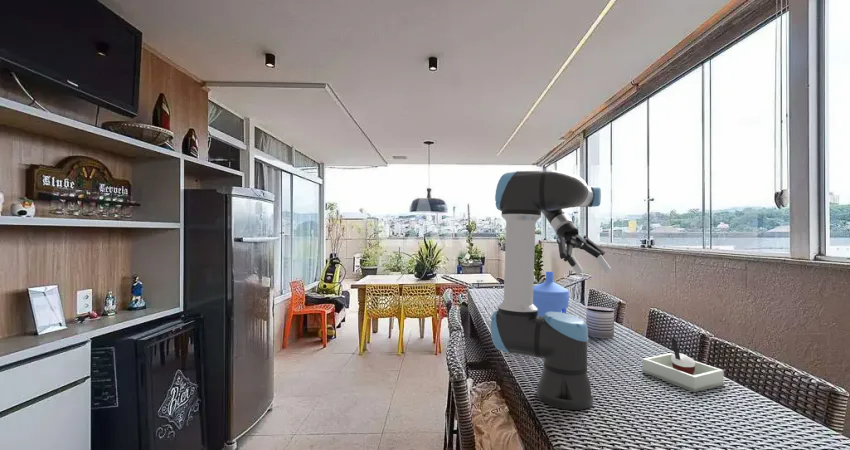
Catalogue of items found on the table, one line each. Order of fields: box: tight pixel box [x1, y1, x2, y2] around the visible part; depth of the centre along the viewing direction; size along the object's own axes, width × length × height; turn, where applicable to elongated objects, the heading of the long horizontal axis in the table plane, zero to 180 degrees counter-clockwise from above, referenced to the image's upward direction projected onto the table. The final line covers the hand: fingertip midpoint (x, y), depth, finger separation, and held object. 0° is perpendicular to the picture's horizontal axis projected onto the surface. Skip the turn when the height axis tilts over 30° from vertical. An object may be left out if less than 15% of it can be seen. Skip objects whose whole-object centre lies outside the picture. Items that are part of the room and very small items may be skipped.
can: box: [585, 305, 615, 339], centre depth 179 cm, size 11×11×12 cm
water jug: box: [533, 271, 570, 317], centre depth 172 cm, size 16×16×28 cm
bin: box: [641, 352, 725, 393], centre depth 131 cm, size 14×17×4 cm
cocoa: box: [670, 337, 695, 375], centre depth 131 cm, size 10×6×12 cm, turn 90°
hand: (594, 271), depth 146 cm, fingers open, 13 cm apart
